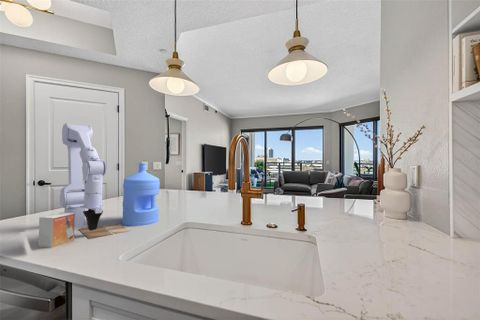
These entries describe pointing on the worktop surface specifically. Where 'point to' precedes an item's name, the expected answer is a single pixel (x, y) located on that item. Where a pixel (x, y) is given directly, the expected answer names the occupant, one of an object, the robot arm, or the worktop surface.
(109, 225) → the oak floor strip
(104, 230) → the walnut plank
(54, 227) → the small box
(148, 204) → the water jug
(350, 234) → the worktop surface
